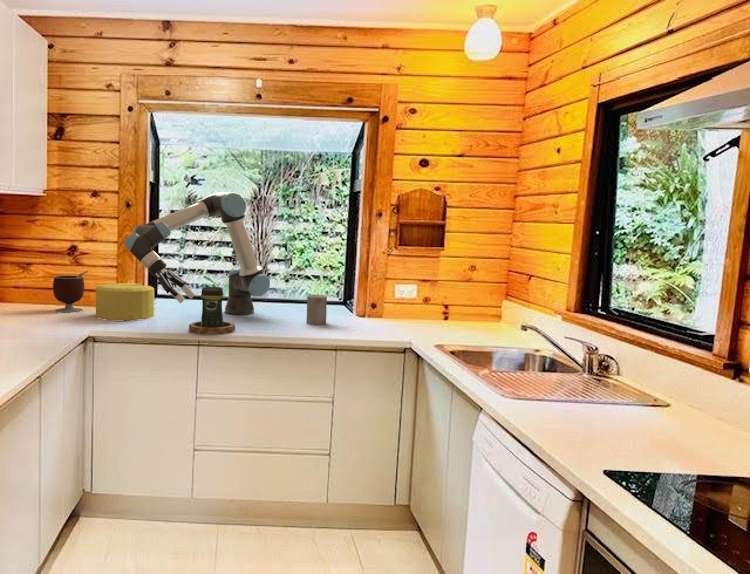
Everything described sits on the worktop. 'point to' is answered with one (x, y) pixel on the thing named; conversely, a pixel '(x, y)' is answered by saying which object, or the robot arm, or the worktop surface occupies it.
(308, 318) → the pillar candle
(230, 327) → the tray
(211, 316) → the coffee jar
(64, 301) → the mate gourd
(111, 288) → the cheese
